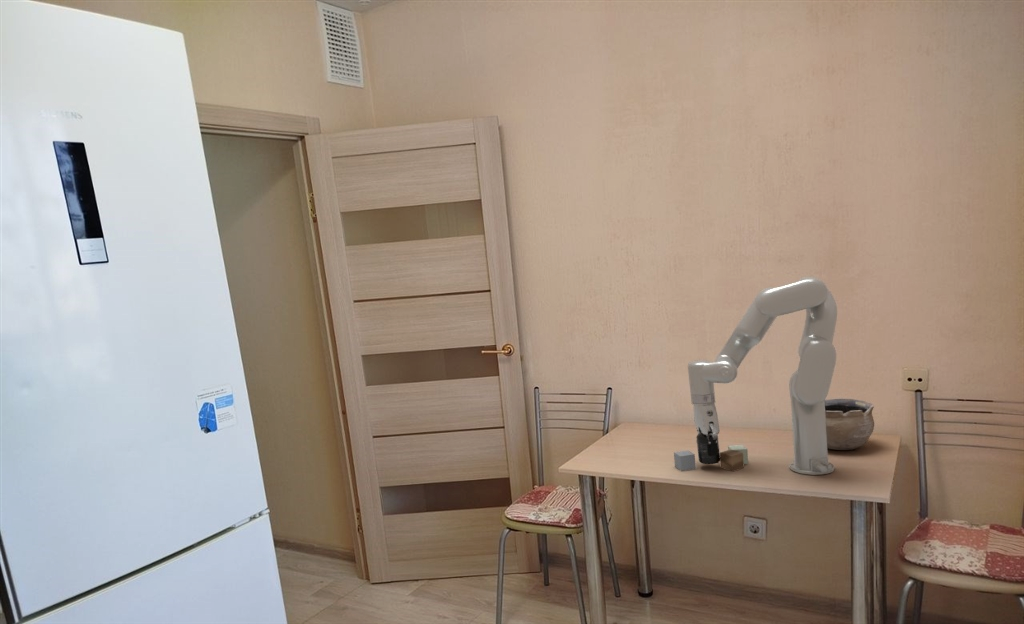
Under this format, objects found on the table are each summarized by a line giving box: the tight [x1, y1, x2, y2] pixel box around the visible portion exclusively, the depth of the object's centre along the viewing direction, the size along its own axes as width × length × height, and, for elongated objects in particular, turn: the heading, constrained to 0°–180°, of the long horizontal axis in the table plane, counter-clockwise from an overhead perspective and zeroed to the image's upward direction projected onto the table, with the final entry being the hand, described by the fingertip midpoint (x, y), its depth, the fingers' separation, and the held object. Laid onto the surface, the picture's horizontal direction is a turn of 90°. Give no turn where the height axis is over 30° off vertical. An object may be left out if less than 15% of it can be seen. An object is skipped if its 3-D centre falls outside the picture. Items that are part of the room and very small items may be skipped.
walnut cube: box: [719, 449, 745, 472], centre depth 207 cm, size 5×5×5 cm
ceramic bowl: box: [824, 398, 875, 451], centre depth 219 cm, size 22×22×15 cm
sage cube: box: [727, 444, 749, 465], centre depth 213 cm, size 5×5×5 cm
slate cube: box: [673, 449, 697, 472], centre depth 212 cm, size 5×5×5 cm
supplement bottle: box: [695, 427, 721, 465], centre depth 209 cm, size 7×7×12 cm
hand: (708, 451), depth 209 cm, fingers closed on supplement bottle, 6 cm apart
